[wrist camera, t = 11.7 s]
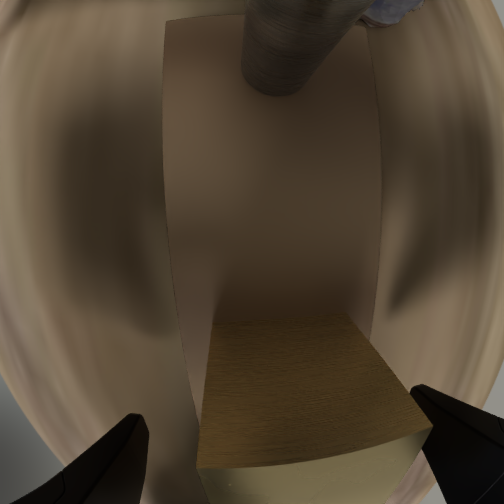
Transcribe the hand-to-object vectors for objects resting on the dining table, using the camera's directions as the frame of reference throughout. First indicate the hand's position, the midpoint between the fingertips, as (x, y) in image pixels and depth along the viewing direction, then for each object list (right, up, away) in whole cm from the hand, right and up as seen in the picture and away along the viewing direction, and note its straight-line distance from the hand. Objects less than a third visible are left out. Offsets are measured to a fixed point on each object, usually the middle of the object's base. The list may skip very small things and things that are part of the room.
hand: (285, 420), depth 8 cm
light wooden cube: (0, 0, +1) cm, 1 cm away
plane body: (0, +3, +3) cm, 4 cm away
